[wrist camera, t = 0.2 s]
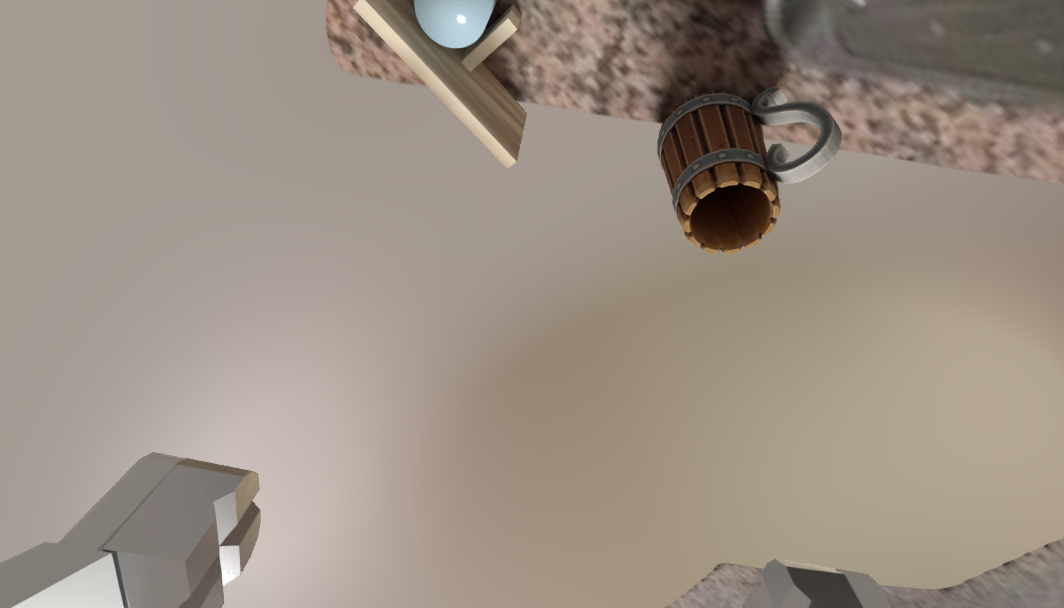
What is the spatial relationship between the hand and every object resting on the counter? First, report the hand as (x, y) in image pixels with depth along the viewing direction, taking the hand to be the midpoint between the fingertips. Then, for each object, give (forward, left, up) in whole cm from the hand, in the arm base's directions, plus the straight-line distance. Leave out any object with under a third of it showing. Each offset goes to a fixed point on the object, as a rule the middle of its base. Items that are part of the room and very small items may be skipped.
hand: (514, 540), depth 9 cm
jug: (+10, -3, -51) cm, 52 cm away
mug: (-1, +24, -52) cm, 57 cm away
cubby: (+13, +1, -51) cm, 53 cm away
